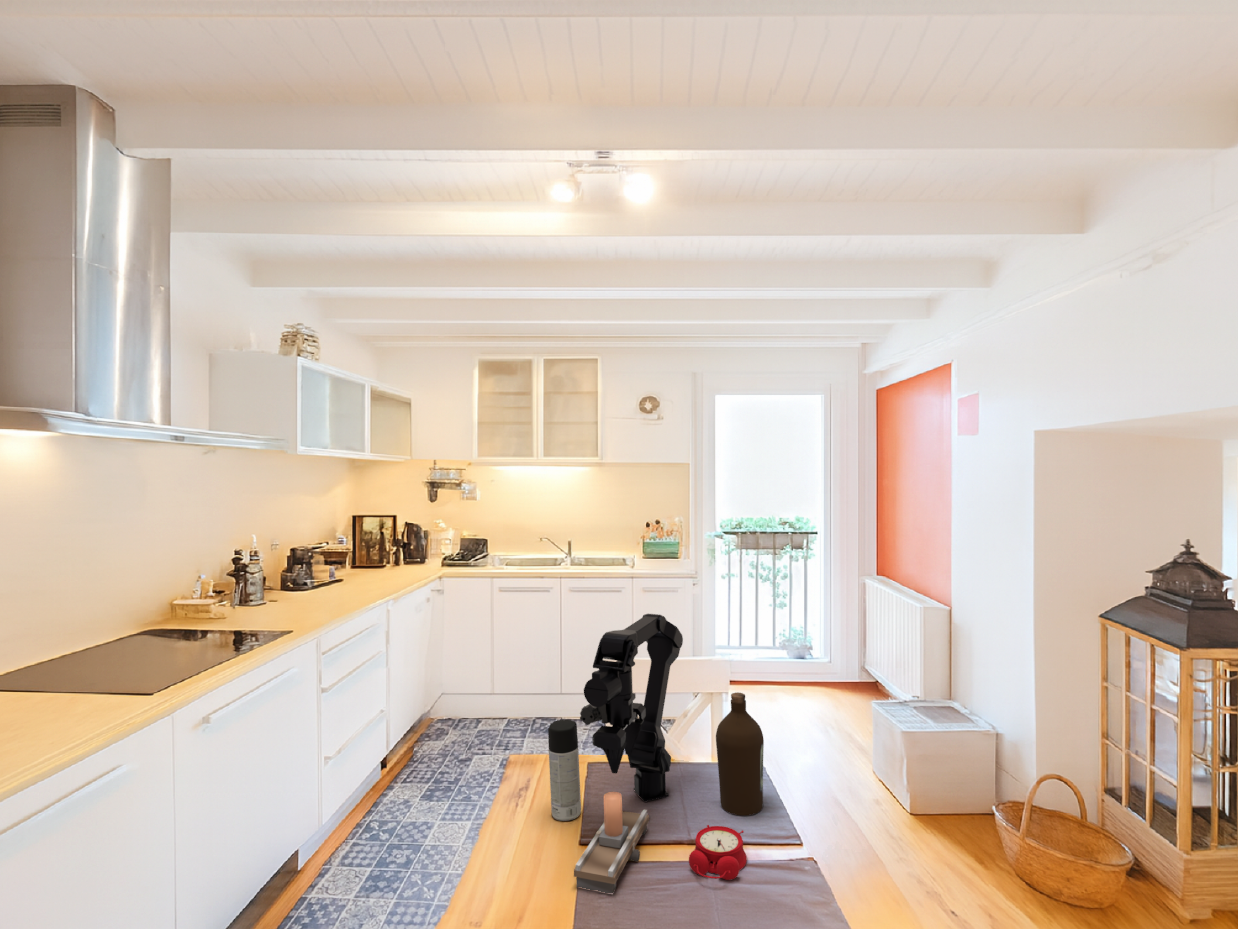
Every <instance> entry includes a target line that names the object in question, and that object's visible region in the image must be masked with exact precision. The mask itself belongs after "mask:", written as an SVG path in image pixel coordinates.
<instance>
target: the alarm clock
mask: <svg viewBox="0 0 1238 929" xmlns="http://www.w3.org/2000/svg"><path fill="white" fill-rule="evenodd" d="M743 833H744V830H741V831H740V832H738V831H737V830H735V829H733V828H731V827H728V826H724V825H723V826H722V825H721V826H720V825H714V826H713V825H712V826H710V824H707V825H706V827H704V828H702V829H701V830H699V831H698V832H697V833H696V836H695V840H694V841H695V848H694V850H692V851H691V853H689V856H688V864H689V867H690V869H691V871H693V872H694V874H696V875H698V874H699V876H702V877H704V878H709V879H717V880H718V879H723V880H726V881H732V880H735V879H736V878H737V877H738V876H739V874H740V871H741V870H742V869H743V868H745V866H746V865H747V860H748V859H747V853H746V852H745V849H744V840H743V838H742V836H741V834H743ZM707 873H709V874H713V873H715V874H714V875H718V876H710V875H706V874H707ZM731 879H732V880H731Z"/></svg>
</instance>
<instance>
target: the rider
mask: <svg viewBox="0 0 1238 929" xmlns="http://www.w3.org/2000/svg"><path fill="white" fill-rule="evenodd" d="M622 796H623V795H622V793H621V792H618V791H609V792H606V793H605V794H603V820H604V821H603V823H604V827H605V828H604V830H603V831H602V833H601V834H600V836H599V845H603V846H609V847H615V848H621V847H622V845H623V843H624V841H625V840H626V838H627V836H628V826H623V822H622V811H623V799H622V798H623V797H622Z"/></svg>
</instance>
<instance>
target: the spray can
mask: <svg viewBox="0 0 1238 929" xmlns="http://www.w3.org/2000/svg"><path fill="white" fill-rule="evenodd" d="M577 726H578V724H577V722H576V721H575V720H572V719H558V720H554V721H553V722H552V723H550V725H549V726H548V729H547V733H548V734H547V735H548V736H547V737H548V739H547V740H548V762H549V763H548V764H549V765H548V766H549V784H550V786H549V788H550V804H551V805H550V806H551V808H550V809H551V810H550V811H551V816H552V818H553V819H554V820H557V821H560V822H562V821H563V822H568V821H572V820H575V819H576V818H578V817H579V816H580V815H581V813H582V800H581V780H580V776H581V775H580V756H579V740H578V739H579V738H578V727H577Z"/></svg>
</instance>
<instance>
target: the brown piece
mask: <svg viewBox="0 0 1238 929" xmlns="http://www.w3.org/2000/svg"><path fill="white" fill-rule="evenodd" d="M622 822H623V826H628V836H627V838H626V840H625V841H624V843H623V845H622V847H621V848H615V847H609V846H603V845H599V836H600V834H601V833H602V831H603V830H604V828H605V827H604V822H603V823H602V825H601V826H600V827H599V829H598V830H597V831H596V832H595V835H594V836H593V838H592V839H591V840H590V843H588V845H587V847H586V848H585V850H584V851H583V853H582V855H580V857H579V859H578V860H577V862H576V863H575V867H574V868H573V877H574V878H575V879H576V888H577V889H579V888H578V887H582V888H586V889H590V890H598V891H601V892H605V893H613V892H615V891H616V889H617V881H618V880H619V878H620V876H621V873H622V872H623V870H624V868H625V866H626V864H627V862H628V861H631V862H637V863H638V862H639V861H640V857H641V852H640V850H639V849H636V847H637V844H638V842H639V840H640V838H641V836H643V835H644V836H645V835H646V833H647V831H648V824H649V822H650V815H649V814H648V809H643V810H642V811H641V813H639V812H632V811H631V812H630V811H624V810H622ZM590 890H589V891H590ZM614 890H615V891H614ZM605 893H604V894H605ZM613 894H614V893H613Z"/></svg>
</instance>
